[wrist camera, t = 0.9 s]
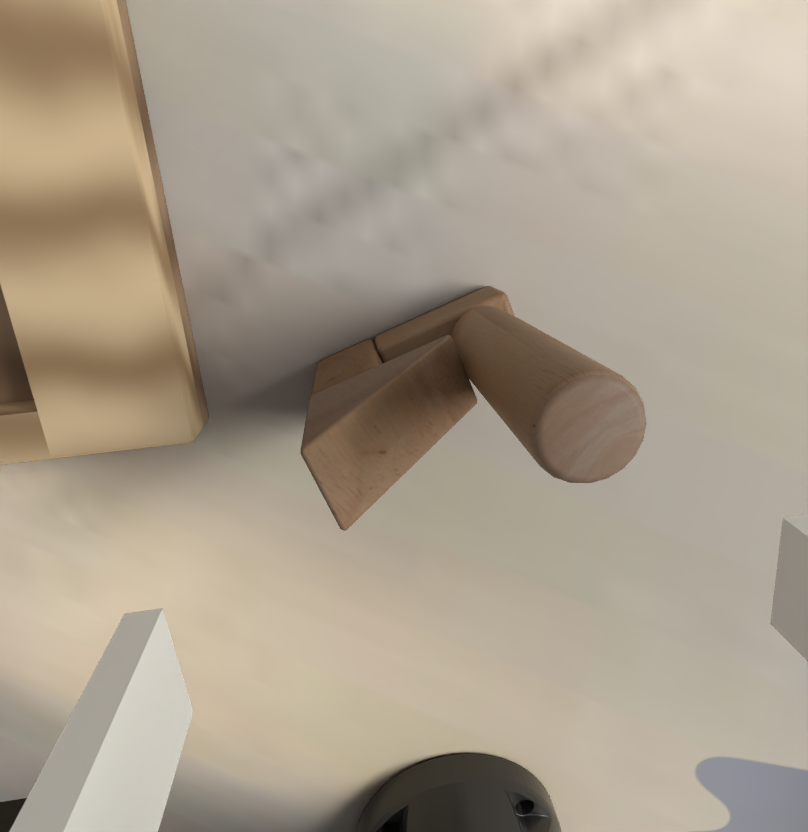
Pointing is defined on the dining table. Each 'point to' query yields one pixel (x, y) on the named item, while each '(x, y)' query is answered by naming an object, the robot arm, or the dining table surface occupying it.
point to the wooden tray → (85, 245)
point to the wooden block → (462, 401)
